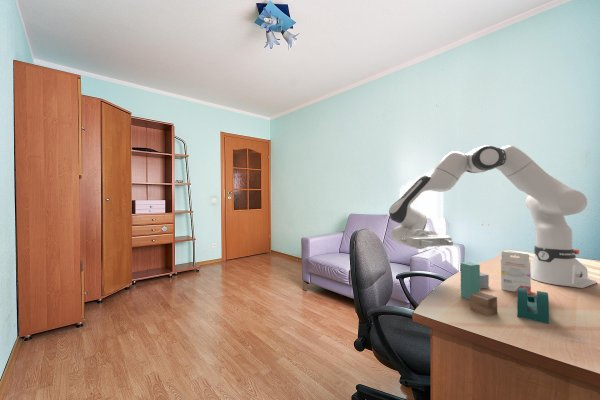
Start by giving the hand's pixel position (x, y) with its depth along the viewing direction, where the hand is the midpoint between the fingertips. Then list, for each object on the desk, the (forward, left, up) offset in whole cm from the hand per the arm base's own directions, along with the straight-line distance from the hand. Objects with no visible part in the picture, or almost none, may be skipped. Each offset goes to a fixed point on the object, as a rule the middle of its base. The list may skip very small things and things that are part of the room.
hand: (442, 244), depth 103 cm
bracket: (-10, +26, -17) cm, 32 cm away
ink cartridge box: (-23, +11, -17) cm, 31 cm away
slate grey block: (-14, +3, -17) cm, 22 cm away
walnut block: (+6, +22, -17) cm, 29 cm away
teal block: (0, +12, -17) cm, 21 cm away
